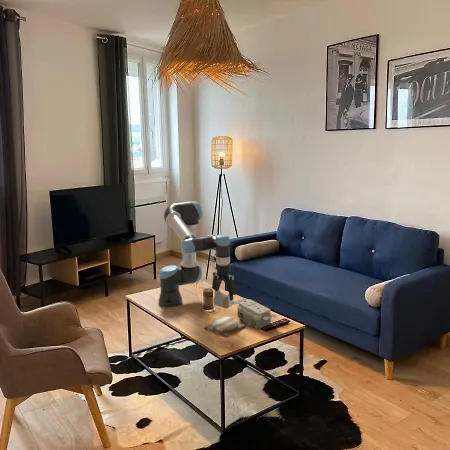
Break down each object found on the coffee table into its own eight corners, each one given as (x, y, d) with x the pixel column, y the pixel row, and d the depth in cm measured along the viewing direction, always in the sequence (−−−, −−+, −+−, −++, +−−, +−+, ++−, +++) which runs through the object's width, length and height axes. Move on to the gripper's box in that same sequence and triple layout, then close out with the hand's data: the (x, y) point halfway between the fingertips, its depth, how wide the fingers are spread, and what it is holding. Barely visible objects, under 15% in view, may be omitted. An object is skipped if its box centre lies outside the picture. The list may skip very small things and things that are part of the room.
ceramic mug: (224, 310, 240) (223, 296, 239) (213, 307, 246) (213, 293, 245) (237, 305, 248) (237, 291, 246) (227, 302, 253) (226, 289, 252)
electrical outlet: (245, 310, 271) (245, 295, 268) (278, 329, 249) (279, 312, 246) (230, 315, 264) (230, 300, 261) (263, 335, 242) (263, 318, 239)
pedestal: (204, 329, 248) (204, 322, 247) (223, 319, 260) (223, 313, 259) (226, 337, 238) (226, 330, 237) (245, 327, 249) (245, 320, 249)
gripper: (204, 262, 245) (205, 301, 250) (233, 268, 232) (234, 310, 236) (213, 259, 251) (214, 297, 255) (242, 265, 237) (243, 306, 242)
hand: (224, 303), depth 246 cm, fingers closed on ceramic mug, 8 cm apart
